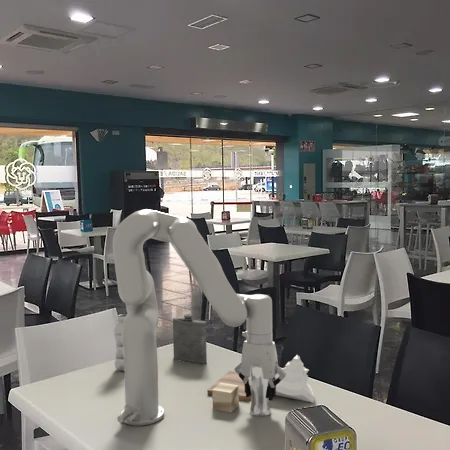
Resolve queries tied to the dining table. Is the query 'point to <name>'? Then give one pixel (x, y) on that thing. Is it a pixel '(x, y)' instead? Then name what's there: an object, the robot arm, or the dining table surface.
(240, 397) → the serving board
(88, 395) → the dining table surface
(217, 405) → the beech block
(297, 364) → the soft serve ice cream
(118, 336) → the plastic bottle
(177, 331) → the flask
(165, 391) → the dining table surface
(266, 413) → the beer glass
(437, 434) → the dining table surface
